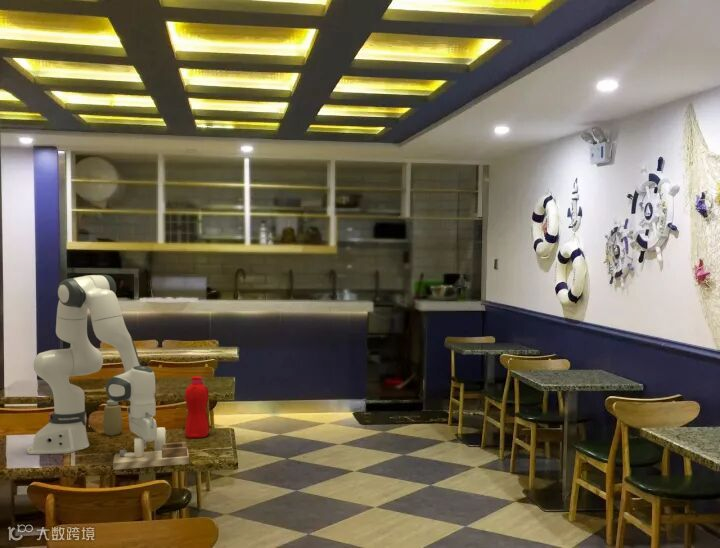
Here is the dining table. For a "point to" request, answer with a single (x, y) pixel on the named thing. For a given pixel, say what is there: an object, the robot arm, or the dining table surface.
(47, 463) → the dining table surface
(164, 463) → the wooden board with socket
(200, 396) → the water bottle
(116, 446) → the dining table surface
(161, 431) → the loose leg
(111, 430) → the squeeze bottle
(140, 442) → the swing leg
